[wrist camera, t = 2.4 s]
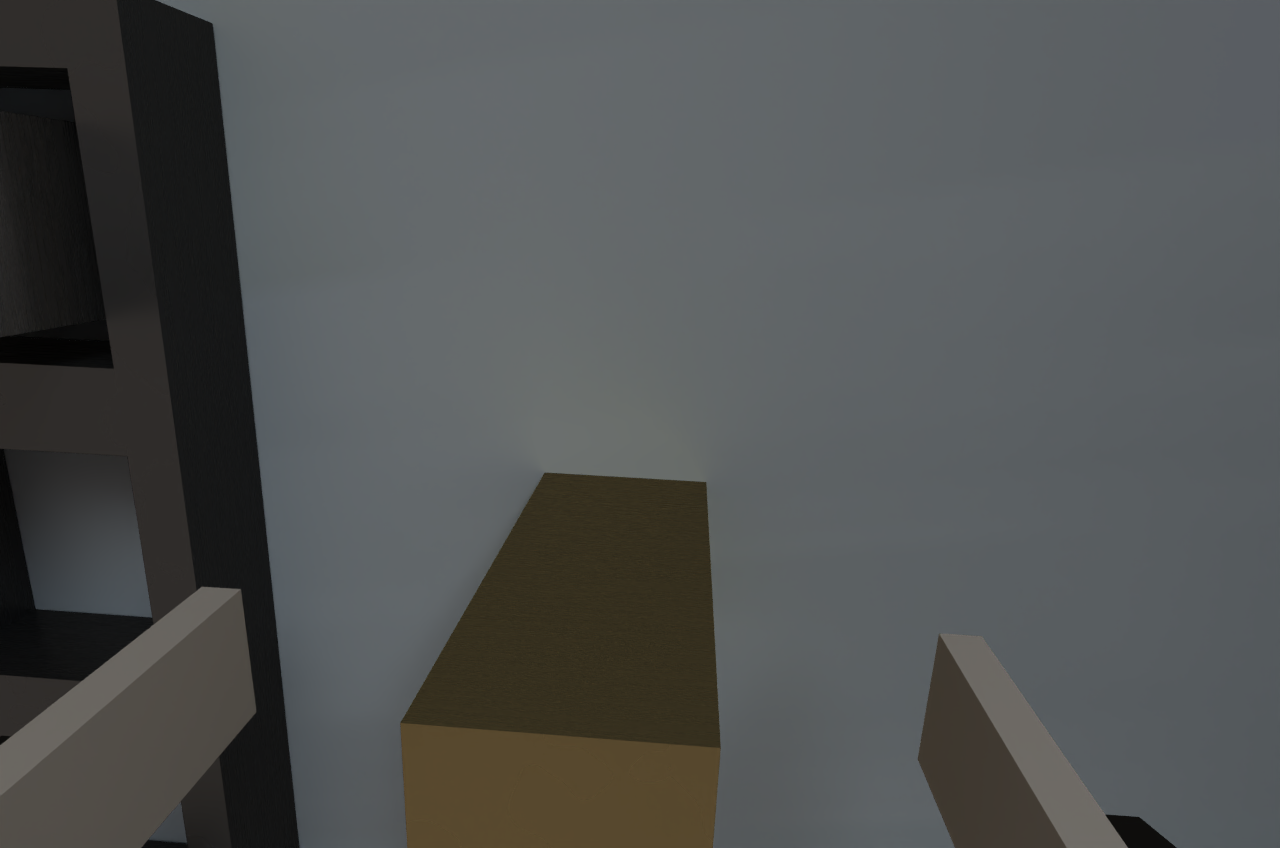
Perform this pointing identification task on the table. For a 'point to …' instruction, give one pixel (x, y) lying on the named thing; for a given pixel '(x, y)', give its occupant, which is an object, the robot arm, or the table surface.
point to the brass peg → (577, 681)
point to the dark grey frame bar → (148, 383)
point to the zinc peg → (44, 228)
